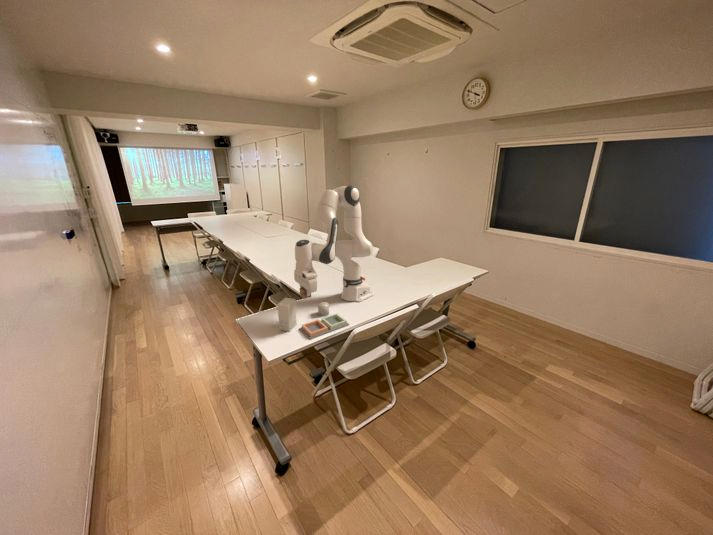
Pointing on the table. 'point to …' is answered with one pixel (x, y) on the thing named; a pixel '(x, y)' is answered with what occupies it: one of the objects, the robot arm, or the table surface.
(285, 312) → the skincare box
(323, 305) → the grey rounded cylinder
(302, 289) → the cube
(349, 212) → the robot arm
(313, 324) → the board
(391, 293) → the table surface
